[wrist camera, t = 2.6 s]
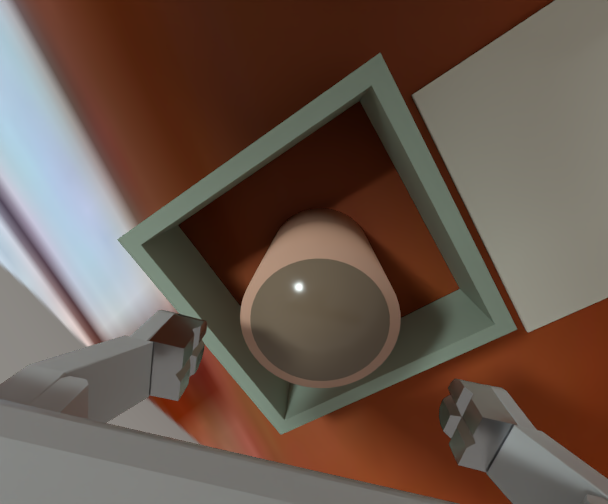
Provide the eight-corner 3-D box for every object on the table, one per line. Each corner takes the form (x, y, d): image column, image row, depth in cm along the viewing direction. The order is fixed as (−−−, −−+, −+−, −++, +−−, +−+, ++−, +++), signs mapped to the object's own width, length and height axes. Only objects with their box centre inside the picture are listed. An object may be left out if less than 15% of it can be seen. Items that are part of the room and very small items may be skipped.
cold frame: (159, 221, 18) (117, 239, 15) (365, 76, 15) (380, 52, 12) (287, 384, 22) (280, 434, 18) (477, 292, 19) (517, 329, 15)
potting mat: (411, 95, 15) (412, 94, 15) (597, -28, 14) (601, -31, 13) (525, 330, 19) (527, 332, 19) (683, 261, 17) (687, 262, 17)
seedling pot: (251, 241, 18) (207, 299, 11) (337, 187, 17) (349, 215, 10) (305, 316, 20) (295, 409, 13) (387, 272, 19) (429, 348, 11)
